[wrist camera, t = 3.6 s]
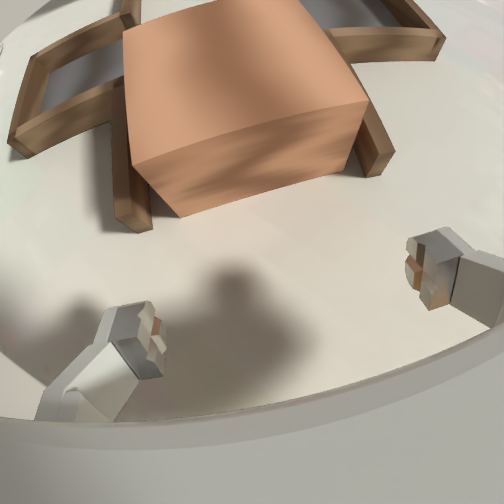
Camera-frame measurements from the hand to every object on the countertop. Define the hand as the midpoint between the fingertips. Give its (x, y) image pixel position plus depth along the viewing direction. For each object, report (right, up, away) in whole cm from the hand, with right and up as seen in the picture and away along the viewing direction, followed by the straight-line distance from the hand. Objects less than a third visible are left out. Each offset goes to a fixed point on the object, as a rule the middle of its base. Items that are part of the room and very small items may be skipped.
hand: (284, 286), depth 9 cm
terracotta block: (-2, +9, +10) cm, 14 cm away
